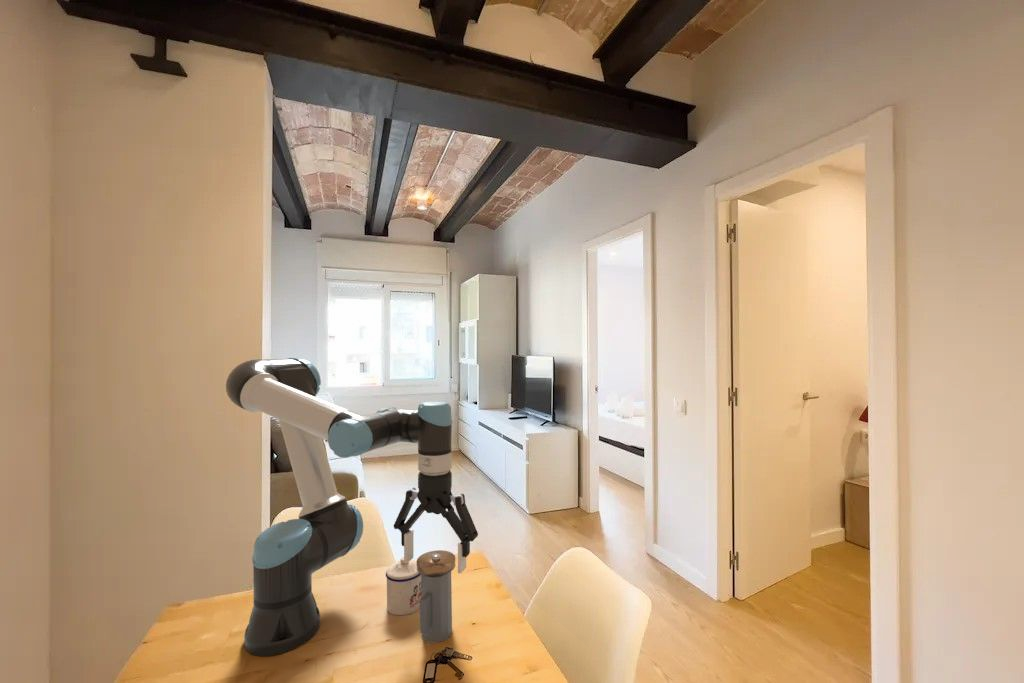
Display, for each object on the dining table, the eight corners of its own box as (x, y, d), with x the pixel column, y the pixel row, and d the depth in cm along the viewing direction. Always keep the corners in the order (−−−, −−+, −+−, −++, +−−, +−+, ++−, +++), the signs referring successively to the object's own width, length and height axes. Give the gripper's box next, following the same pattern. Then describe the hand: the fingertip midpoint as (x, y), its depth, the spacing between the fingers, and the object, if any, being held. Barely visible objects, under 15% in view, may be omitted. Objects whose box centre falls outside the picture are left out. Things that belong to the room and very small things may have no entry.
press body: (409, 646, 92) (408, 580, 93) (431, 620, 101) (430, 560, 102) (436, 653, 90) (435, 586, 90) (456, 626, 99) (456, 564, 99)
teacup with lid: (416, 617, 102) (416, 568, 103) (379, 615, 103) (379, 566, 104) (431, 589, 114) (430, 545, 115) (398, 588, 115) (397, 544, 116)
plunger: (409, 628, 95) (409, 561, 95) (429, 605, 103) (429, 544, 103) (444, 636, 92) (443, 567, 92) (462, 612, 100) (461, 549, 100)
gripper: (378, 470, 98) (378, 563, 98) (478, 481, 90) (478, 583, 90) (397, 461, 105) (397, 549, 105) (492, 471, 97) (492, 566, 97)
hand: (434, 565), depth 97 cm, fingers open, 13 cm apart
